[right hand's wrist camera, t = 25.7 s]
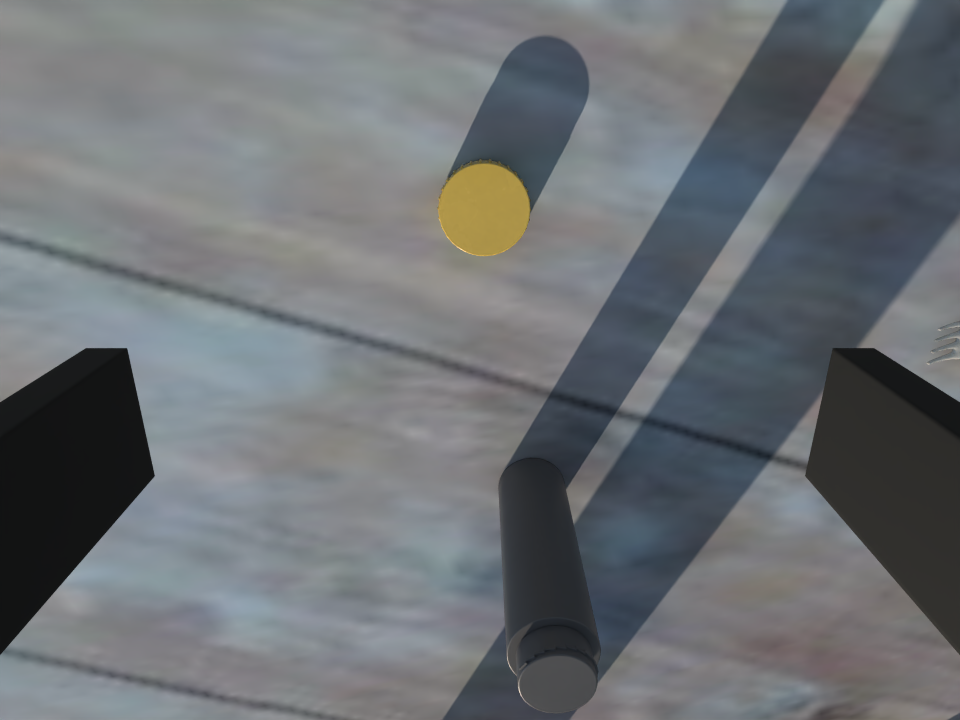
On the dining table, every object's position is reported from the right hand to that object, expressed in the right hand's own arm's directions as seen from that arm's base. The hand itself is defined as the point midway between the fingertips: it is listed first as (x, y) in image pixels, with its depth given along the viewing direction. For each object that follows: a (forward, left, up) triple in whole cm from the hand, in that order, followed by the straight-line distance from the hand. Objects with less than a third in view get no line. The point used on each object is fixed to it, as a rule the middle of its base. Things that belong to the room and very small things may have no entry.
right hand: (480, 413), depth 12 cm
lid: (0, 0, -25) cm, 25 cm away
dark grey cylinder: (+19, 0, -27) cm, 33 cm away
